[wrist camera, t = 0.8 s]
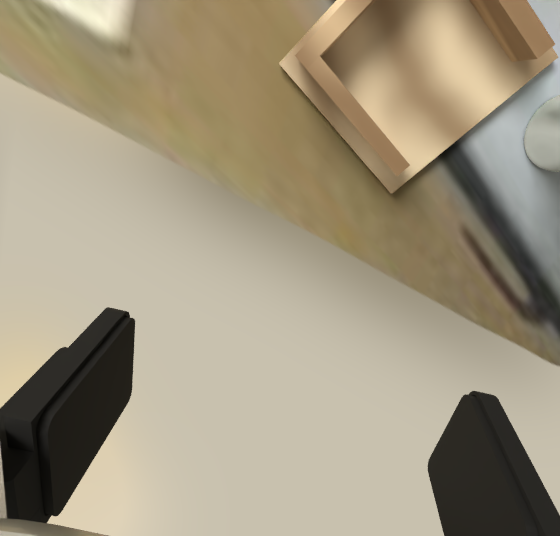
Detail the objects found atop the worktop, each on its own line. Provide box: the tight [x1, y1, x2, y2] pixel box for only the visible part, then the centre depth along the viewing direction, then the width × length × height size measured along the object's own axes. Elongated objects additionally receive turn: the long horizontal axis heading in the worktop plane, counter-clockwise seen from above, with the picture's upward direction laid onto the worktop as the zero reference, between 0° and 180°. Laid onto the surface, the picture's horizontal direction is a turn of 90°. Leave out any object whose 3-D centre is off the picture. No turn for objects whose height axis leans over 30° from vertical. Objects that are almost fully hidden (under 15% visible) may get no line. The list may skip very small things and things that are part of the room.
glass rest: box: [279, 0, 558, 194], centre depth 29 cm, size 15×14×5 cm
